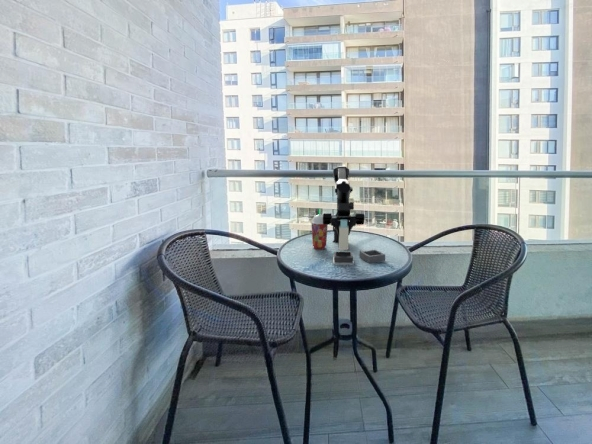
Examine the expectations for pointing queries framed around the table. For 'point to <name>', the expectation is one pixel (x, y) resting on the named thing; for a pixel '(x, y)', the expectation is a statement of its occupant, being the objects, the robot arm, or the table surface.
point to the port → (343, 258)
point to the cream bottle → (343, 235)
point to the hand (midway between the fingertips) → (343, 234)
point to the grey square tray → (372, 256)
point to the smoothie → (319, 232)
